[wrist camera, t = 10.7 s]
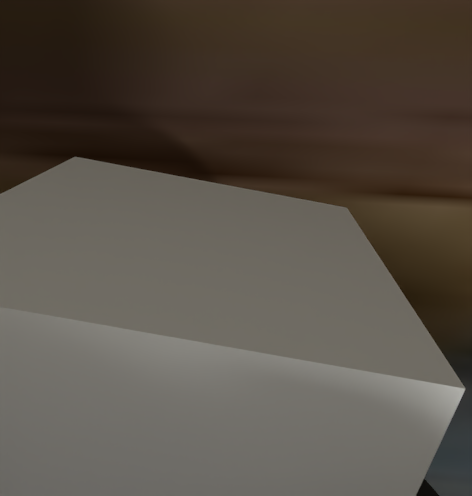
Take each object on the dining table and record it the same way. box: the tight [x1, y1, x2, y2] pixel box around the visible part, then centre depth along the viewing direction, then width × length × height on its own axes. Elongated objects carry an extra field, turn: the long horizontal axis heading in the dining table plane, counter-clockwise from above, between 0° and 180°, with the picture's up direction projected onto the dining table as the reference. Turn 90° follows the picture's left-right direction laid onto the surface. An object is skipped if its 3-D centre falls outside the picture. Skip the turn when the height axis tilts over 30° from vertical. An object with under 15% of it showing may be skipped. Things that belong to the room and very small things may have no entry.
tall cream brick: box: [0, 157, 465, 496], centre depth 9 cm, size 9×6×6 cm
